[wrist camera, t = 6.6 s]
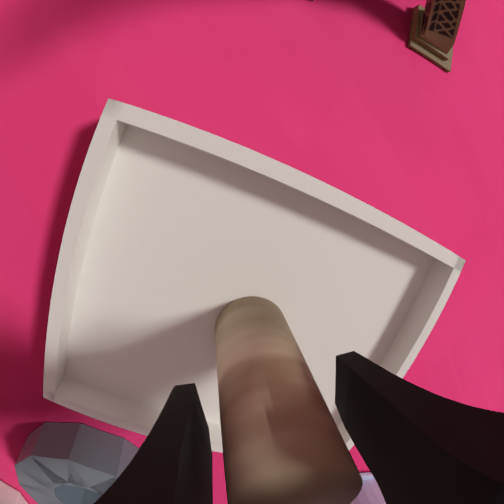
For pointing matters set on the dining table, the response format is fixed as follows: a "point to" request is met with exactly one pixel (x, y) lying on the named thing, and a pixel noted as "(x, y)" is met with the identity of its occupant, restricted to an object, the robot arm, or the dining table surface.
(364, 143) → the dining table surface
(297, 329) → the tray
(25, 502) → the jar
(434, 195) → the dining table surface
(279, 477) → the pin
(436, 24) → the eiffel tower
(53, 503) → the grey faceted ashtray
